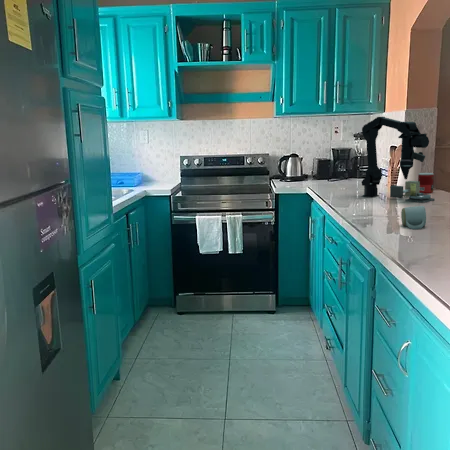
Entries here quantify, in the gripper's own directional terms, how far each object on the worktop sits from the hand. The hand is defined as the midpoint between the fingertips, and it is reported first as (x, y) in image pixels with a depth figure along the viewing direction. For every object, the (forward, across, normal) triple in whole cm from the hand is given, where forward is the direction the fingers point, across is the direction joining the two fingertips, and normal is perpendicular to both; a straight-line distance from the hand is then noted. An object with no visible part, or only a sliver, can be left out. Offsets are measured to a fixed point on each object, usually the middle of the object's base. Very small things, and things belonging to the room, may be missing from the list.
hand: (406, 178), depth 235 cm
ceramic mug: (+10, -67, -5) cm, 68 cm away
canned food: (+12, +30, -10) cm, 34 cm away
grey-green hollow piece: (+12, +15, -3) cm, 19 cm away
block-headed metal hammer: (+11, +10, 0) cm, 15 cm away
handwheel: (+10, -1, -7) cm, 12 cm away
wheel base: (+11, -2, -7) cm, 13 cm away
